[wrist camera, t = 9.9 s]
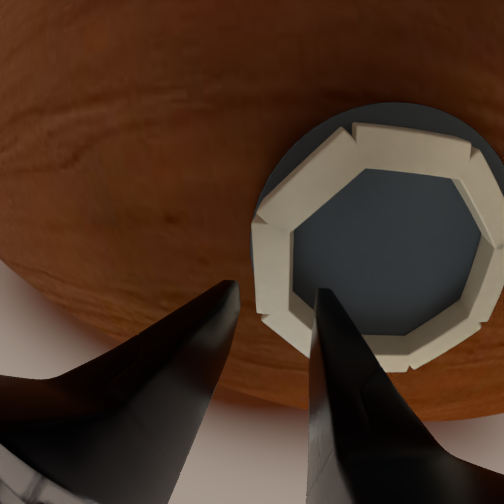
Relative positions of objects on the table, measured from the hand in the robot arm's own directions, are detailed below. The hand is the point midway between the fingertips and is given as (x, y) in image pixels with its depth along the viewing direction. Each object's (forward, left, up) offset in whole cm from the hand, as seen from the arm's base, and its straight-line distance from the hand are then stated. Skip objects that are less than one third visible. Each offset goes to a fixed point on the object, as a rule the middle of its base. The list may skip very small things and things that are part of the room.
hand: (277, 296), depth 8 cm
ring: (-4, 0, -2) cm, 5 cm away
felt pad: (-4, 0, -3) cm, 5 cm away
